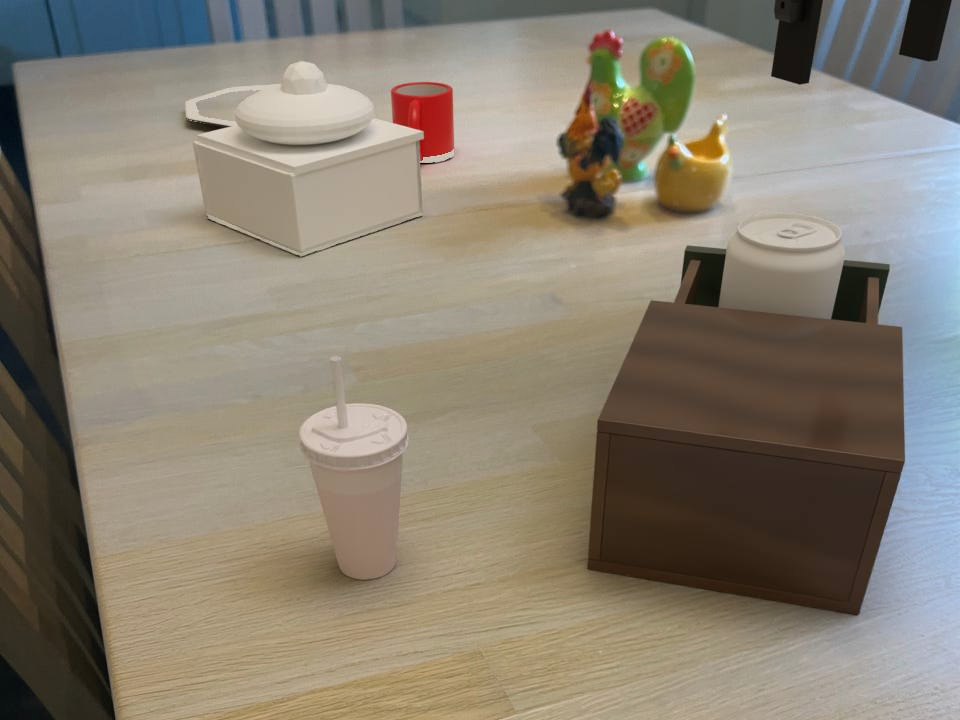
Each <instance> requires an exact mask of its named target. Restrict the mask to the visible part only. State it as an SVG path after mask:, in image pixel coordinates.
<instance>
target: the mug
mask: <svg viewBox="0 0 960 720" xmlns="http://www.w3.org/2000/svg"><path fill="white" fill-rule="evenodd" d="M390 101H391V103H390V104H391V117H392V118H391V119H392V123H394V124H398V125H402V126H405V127H409V128H413V129H416V130H420V131H424V139H422V140H419V147H420V161H422V160H423V157H430V156H437V155H442V154H445V153H448V152H451V151H452V150H453V149H454V150H455V126H454V125H455V124H454V123H455V122H454V121H455V119H454V90H453V86H451V85H449V84H446V83H442V82H437V81H435V82H434V81H415V82H414V81H413V82H407V83H401V84H398V85H395V86H394V87H392V88H391V89H390Z"/></svg>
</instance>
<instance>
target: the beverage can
mask: <svg viewBox="0 0 960 720" xmlns="http://www.w3.org/2000/svg"><path fill="white" fill-rule="evenodd" d="M736 226H737V227H736V231H735V232H734V233H733V234H732V236H731V237H730V238H729V241H728V243H727V245H726V249H727V251H726V258H725V265H724V272H723V278H722V285H721V292H720V299H719V306H718V307H719V308H729V309H738V310H748V311H757V312H766V313H776V314H785V315H795V316H804V317H814V318H823V319H831V317H832V312H833V308H834V303H835V299H836V294H837V290H838V285H839V281H840V276H841V272H842V267H843V263H844V260H845V258H846V250H845V247H844V244H843V242H842V238H843V231H842V229H841V228H840V227H839V226H838V225H837V224H835V223H834V222H832V221H830V220H827V219H825V218H821V217H819V216H814V215H810V214H804V213H797V212H765V213H758V214H754V215H750V216H747V217H745V218H743V219H741V220H740V221H739V222H738V223H737V225H736Z"/></svg>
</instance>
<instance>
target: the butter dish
mask: <svg viewBox="0 0 960 720" xmlns="http://www.w3.org/2000/svg"><path fill="white" fill-rule="evenodd" d="M280 84H281V85H279V86H275V87H271V88H267V89H264V90H261V91H259V92H257V93H255V94H253V95H251V96H249V97H247V98H246V99H245V100H244V101H242V102H241V103H240V104H239V106H238V107H237V109H236V111H235V117H234V118H235V120H236V123H237V125H235V126H231V127H227V128H225V127H222V128H219V129H215V130H211V131H206V132H203V133H198V134H196V137H197V140H195V141H192V146H193V153H194V158H195V163H196V168H197V174H198V179H199V185H200V190H201V196H202V200H203V207H204V212H205V214H206V213H207V214H209V215H212V216H214V217H217V218H219V219H221V220H224V221H226V222H228V223H230V224H232V225H235V226H237V227H239V228H241V229H243V230H246V231H248V232H250V233H252V234H254V235H256V236H259V237H261V238H263V239H267V240H269V241H272V242H274V243H276V244H279V245H281V246H284V247H286V248H289V249H291V250H294V251H296V252H299V253H303V252H306V251H309V250H312V249H314V248H317V247H320V246H324V245H326V244H329V243H333V242H336V241H338V240H342V239H346V238H348V237H352V236H354V235H357V234H360V233H363V232H367V231H370V230H373V229H376V228H378V227H381V226H385V225H387V224H390V223H393V222H396V221H398V220H401V219H404V218H407V217H411V216H413V215H416V214H418V213H421V212H424V211H423V192H422V191H423V189H422V176H421V175H422V169H421V164H420V147H419V140H422V139H424V131H420V130H416V129H413V128H409V127H405V126H402V125H398V124H394V123H393V122H390V121H386V120H383V119H379V118H375V116H376V109H375V108H376V107H375V106H374V103H373V102H372V101H371V100H370V98H368V97H367V95H365V94H363V93H361V92H360V91H357V90H356V89H352V88H349V87H347V86H344V85H339V84H333V83H328V82H327V80H326V78H325V74H324V73H323V72H322V71H321V69H319V67H318V66H317V65H316V64H315V63H312V62H308V61H304V60H300V61H297V62H294V63H290V64H289V65H288V67H287V68H286V69H285V70H284V72H283V74H282V75H281V82H280Z"/></svg>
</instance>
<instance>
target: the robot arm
mask: <svg viewBox="0 0 960 720" xmlns="http://www.w3.org/2000/svg"><path fill="white" fill-rule="evenodd" d="M952 2H953V0H910V1H909V5H908V8H907V9H908V10H907V14H906V18H905V24H904V28H903V33H902V37H901V43H900V47H899V51H898V55H899V56H902V57H908V58H913V59H916V60H920V61H924V62H935V61H938V60H939V55H940V51H941V47H942V43H943V39H944V34H945V30H946V27H947V22H948V18H949V15H950V10H951V5H952ZM823 3H824V0H774V8H773V13H774V20H778V26H777V32H776V40H775V47H774V51H773V52H774V53H773V59H772V67H771V74H770V78H771V77H772V78H775V79H778V80H781V81H786V82H788V83H792V84H796V85H807V84H810V79H811V73H812V68H813V61H814V56H815V50H816V44H817V38H818V32H819V26H820V20H821V15H822V9H823Z"/></svg>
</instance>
